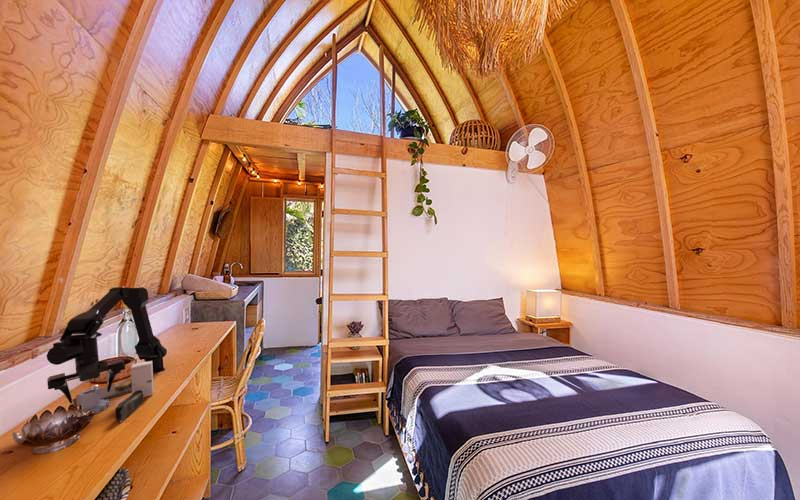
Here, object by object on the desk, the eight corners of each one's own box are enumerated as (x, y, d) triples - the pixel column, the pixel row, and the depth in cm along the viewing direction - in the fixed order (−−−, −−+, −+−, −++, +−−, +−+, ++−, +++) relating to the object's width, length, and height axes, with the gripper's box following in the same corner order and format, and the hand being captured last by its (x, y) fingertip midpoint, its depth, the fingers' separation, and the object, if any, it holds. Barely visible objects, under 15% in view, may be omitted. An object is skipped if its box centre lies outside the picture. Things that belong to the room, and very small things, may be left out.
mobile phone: (134, 389, 112) (110, 410, 98) (144, 388, 113) (121, 408, 99) (135, 403, 112) (111, 425, 98) (145, 401, 113) (123, 423, 99)
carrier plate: (137, 380, 131) (136, 369, 131) (142, 388, 124) (142, 377, 123) (75, 398, 118) (74, 386, 118) (77, 408, 110) (76, 395, 110)
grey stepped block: (107, 400, 115) (106, 383, 115) (111, 408, 109) (109, 390, 108) (71, 411, 108) (69, 393, 108) (73, 421, 102) (71, 401, 102)
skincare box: (132, 400, 114) (129, 367, 113) (134, 395, 118) (131, 364, 117) (153, 395, 117) (151, 363, 117) (154, 390, 121) (152, 359, 121)
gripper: (45, 368, 95) (50, 417, 96) (126, 349, 109) (129, 393, 110) (45, 359, 103) (50, 406, 103) (121, 343, 117) (124, 384, 117)
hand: (90, 397), depth 108 cm, fingers open, 9 cm apart
